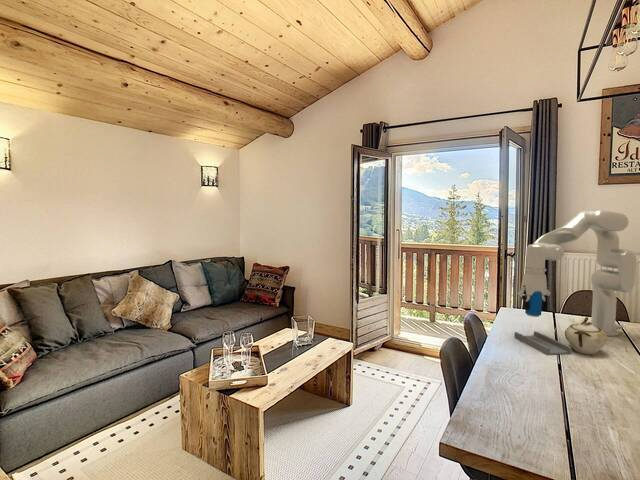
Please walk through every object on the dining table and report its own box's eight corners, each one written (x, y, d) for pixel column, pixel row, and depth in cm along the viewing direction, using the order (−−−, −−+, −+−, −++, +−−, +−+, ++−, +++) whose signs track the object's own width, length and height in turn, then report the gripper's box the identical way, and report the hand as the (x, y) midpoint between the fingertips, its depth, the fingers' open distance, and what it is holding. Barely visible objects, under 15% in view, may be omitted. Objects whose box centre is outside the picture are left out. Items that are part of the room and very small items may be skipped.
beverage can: (544, 317, 170) (545, 291, 169) (529, 317, 170) (531, 291, 170) (536, 313, 177) (537, 288, 176) (522, 313, 177) (523, 288, 176)
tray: (535, 336, 180) (535, 331, 180) (571, 353, 158) (571, 347, 158) (514, 337, 179) (514, 332, 179) (547, 355, 157) (547, 348, 157)
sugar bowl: (600, 361, 150) (603, 325, 149) (558, 351, 161) (559, 317, 160) (610, 349, 163) (612, 316, 162) (570, 341, 174) (571, 309, 173)
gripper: (546, 269, 177) (544, 306, 178) (512, 270, 175) (511, 307, 176) (558, 272, 169) (556, 311, 171) (523, 272, 167) (521, 311, 169)
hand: (533, 308), depth 173 cm, fingers closed on beverage can, 6 cm apart
